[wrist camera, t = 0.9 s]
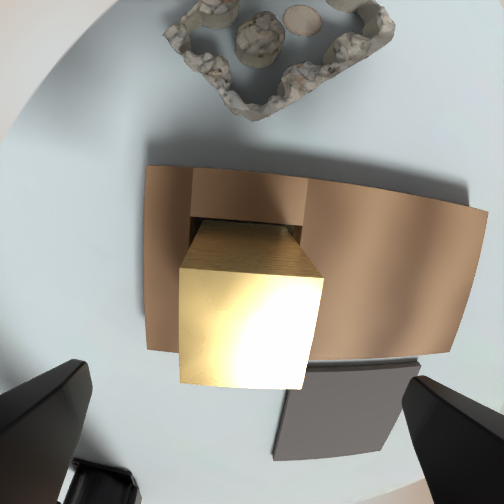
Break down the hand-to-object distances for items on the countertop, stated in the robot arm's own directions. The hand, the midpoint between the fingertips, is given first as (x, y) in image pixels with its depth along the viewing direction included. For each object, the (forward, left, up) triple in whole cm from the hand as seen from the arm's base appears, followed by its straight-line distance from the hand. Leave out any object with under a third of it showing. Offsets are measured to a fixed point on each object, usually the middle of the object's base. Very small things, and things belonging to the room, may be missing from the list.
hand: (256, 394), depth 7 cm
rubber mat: (+9, -12, -11) cm, 18 cm away
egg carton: (+1, +13, -11) cm, 17 cm away
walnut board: (+5, 0, -11) cm, 12 cm away
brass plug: (0, 0, -11) cm, 11 cm away
